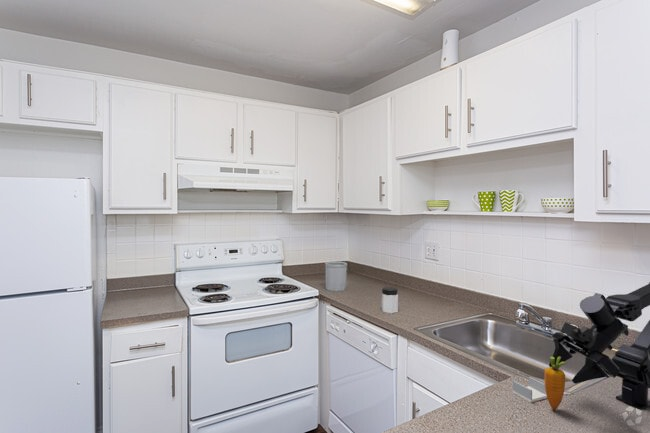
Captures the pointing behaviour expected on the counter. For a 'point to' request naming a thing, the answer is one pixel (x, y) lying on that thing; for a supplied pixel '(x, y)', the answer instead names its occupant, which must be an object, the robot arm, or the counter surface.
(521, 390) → the white railed tray
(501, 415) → the counter surface
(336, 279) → the utensil holder
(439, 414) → the counter surface
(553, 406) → the carrot
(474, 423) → the counter surface
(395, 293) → the jar
